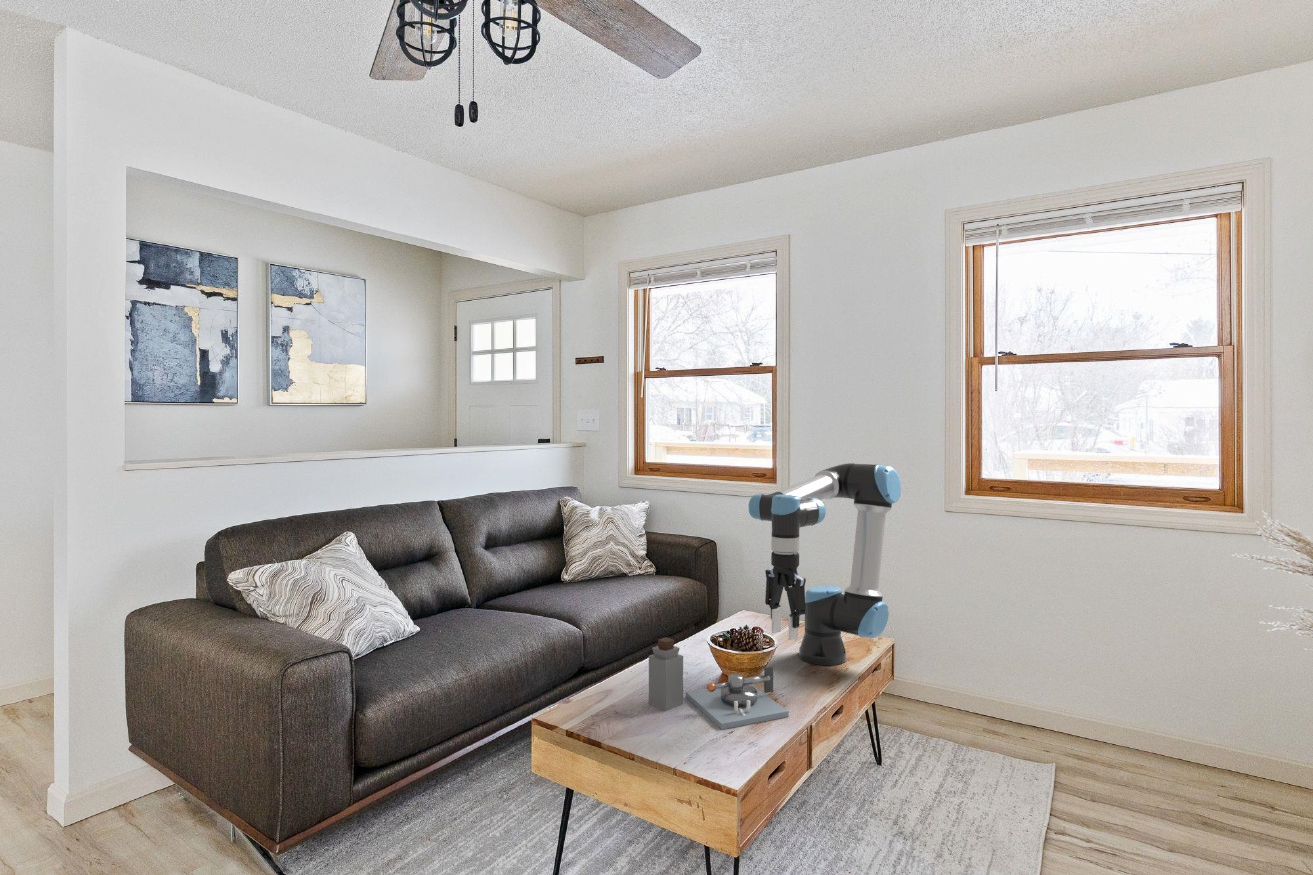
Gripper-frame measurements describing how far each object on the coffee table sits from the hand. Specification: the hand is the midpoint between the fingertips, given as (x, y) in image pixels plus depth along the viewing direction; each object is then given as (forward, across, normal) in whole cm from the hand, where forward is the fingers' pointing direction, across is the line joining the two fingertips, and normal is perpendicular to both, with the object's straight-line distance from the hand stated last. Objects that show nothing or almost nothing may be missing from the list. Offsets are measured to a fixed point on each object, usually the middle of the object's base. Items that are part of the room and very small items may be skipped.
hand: (784, 635), depth 192 cm
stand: (+20, +7, +11) cm, 24 cm away
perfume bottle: (+20, +19, +26) cm, 38 cm away
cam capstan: (+18, +7, +10) cm, 21 cm away
